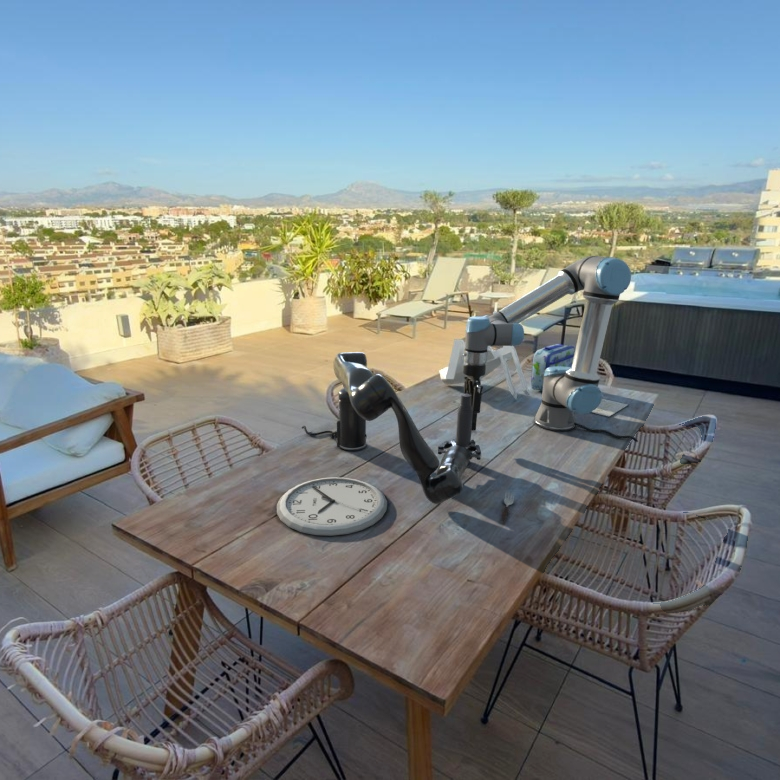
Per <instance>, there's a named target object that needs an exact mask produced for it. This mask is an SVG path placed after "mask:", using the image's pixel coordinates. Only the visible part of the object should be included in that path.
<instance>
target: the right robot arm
mask: <svg viewBox="0 0 780 780" xmlns="http://www.w3.org/2000/svg"><path fill="white" fill-rule="evenodd" d="M631 281H632V272H631V268H630V266H629V265H628V264H627V262H625V261H624V260H622V259H620V258H617V257H613V256H598V255H589V256H584V257H583V258H580V259H578V260H576V261H575V262H573V263H571V264H568V265H567V266H566V267H564V268H563V269H561V270H559V271H558V272H557V276H555V277H553V278H552V279H550V280H548V281H545V283H543V284H542V285H540V286H538V287H536V288H535V289H533V290H532V291H529V292H528V293H527V294H524V295H523V296H521V297H520V298H518V299H516V300H515V301H513V302H512V303H510V304H508V305H506V306H505V307H503V308H502V309H500V310H498V311H496V313H495V314H493V313H492V315H491V314H487V315H482V316H470V317H469V318H467V321H466V327H465V340H464V342H465V353H464V354H463V356H464V361H465V363H464V365H463V373H464V374H465V375H467V376H465V377H464V383H463V385H464V386H463V394H470V395H471V406H472V410H473V415H472V429H471V432H472V431H477V420H478V414H480V413H481V406H482V405H481V404H482V393H483V389H484V387H483V385H481V382H482V381H480V377H481V376H484V375H485V370H486V365H485V363H486V361H487V348H488V346H490V347H498V346H499V347H503V346H514V347H515V346H520V345H521V344H522V343H523V342H524V338H525V329H524V327H523V325H522V324H521V323H522V322H524V321H525V320H527V319H528V318H530V317H532V316H534V315H535V314H537V313H539V312H540V311H543V309H545V308H547V307H549V306H550V305H552V304H554V303H555V302H558V301H559V300H560V299H563V298H564V297H566V296H567V295H571V296H572V295H575V294H576V293H578V292H580V291H583V292H582V297H583V298H584V300H585V305H584V309H583V314H582V318H581V322H580V327H579V331H578V336H577V340H576V345H575V353H574V358H573V362H572V367H559V366H558V367H548V368H547V369H546V370H545V373H544V382H543V391H541V392H542V394H541V402H540V405H539V407H538V410H537V411H536V413H535V417H534V424H535V425H536V426H537V427H539V428H542V429H544V430H549V431H556V432H567V431H572V430H574V429H575V428H576V426H577V427H578V428H582V429H583V430H585V431H588V432H591V433H604V434H607V435H609V436H611V437H614V438H615V439H619V440H620V439H621V440H623V439H631V440H633V441H634V442H636V443H638V442H639V440H638V439H637V438H636V437H635V436H633V435H618V434H615V433H613V432H610V431H609V430H606V429H598V428H597V429H595V428H590V427H587V426H585V425H582V424H580V423H577V422H576V418H575V417H576V416H575V414H578V415H587V414H590V413H592V411H593V410H595V409H596V408H597V407H598V406H599V404H600V403H601V400H602V399H603V393H602V390H601V389H600V387H599V384H600V380H601V379H600V376H599V374H598V368H599V363H600V360H601V355H602V352H603V347H604V342H605V338H606V334H607V329H608V326H609V321H610V318H611V314H612V309H613V305H615V304H616V303H617V302H619V300H620V297H621V294H623V293H624V292H625V291H626V290H627V289H628V288H629V287H630V284H631Z"/></svg>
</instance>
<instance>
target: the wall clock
mask: <svg viewBox="0 0 780 780" xmlns="http://www.w3.org/2000/svg"><path fill="white" fill-rule="evenodd" d="M387 509H388V500H387V498H386V496H385V494H384V493H383V492H382V491H381V490H380V489H379V488H377V487H376V486H374V485H372V484H371V483H369V482H365V481H362V480H359V479H355V478H349V477H338V476H337V477H335V476H333V477H332V476H331V477H322V478H317V479H312V480H307V481H305V482H302V483H299V484H297V485H295V486H293V487H292V488H290V489H288V490H287V491H286V492H285V493H284V494H283V495H281V496H280V498H279V499H278V502H277V503H276V515H277V517H278V518H279V520H280V521H281V522H282V523H283V524H285V525H286V526H287V527H288V528H290V529H293V530H295V531H297V532H299V533H303V534H308V535H312V536H327V537H328V536H329V537H331V536H332V537H333V536H342V535H350V534H352V533H356V532H361V531H363V530H366V529H368V528H369V527H372V526H373V525H375V524H376V523H378V522H379V521H380V520H381V519H382V518H383V517H384V516H385V514H386V512H387Z"/></svg>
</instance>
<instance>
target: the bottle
mask: <svg viewBox="0 0 780 780" xmlns="http://www.w3.org/2000/svg"><path fill="white" fill-rule="evenodd" d="M472 415H473V410H472V406H471V395H470V394H464V393H462V394H460V404H459V406H458V408H457V416H456V417H457V418H456V436H455V437H456V445H458V446H462V447H464V446H466V445H467V444H468V445H469V444H470V442H471V440H472V431H471V429H472ZM469 464H470V461H469V462H468V465H469Z"/></svg>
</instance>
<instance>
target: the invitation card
mask: <svg viewBox="0 0 780 780" xmlns="http://www.w3.org/2000/svg"><path fill="white" fill-rule="evenodd" d="M628 406H629V404H627V403H623V402H618V401H614V400H609V399H605V398H602V400H601V403H600V404H599V406H598V407H597V408H596V409H595V410H593V411H592V412H591V413H593V414H596V415H600V416H604V417H608V418H609V417H611V416H613V415H614V414H616V413H617V412H619V411H621V410H623V409H624V408H626V407H628Z"/></svg>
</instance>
